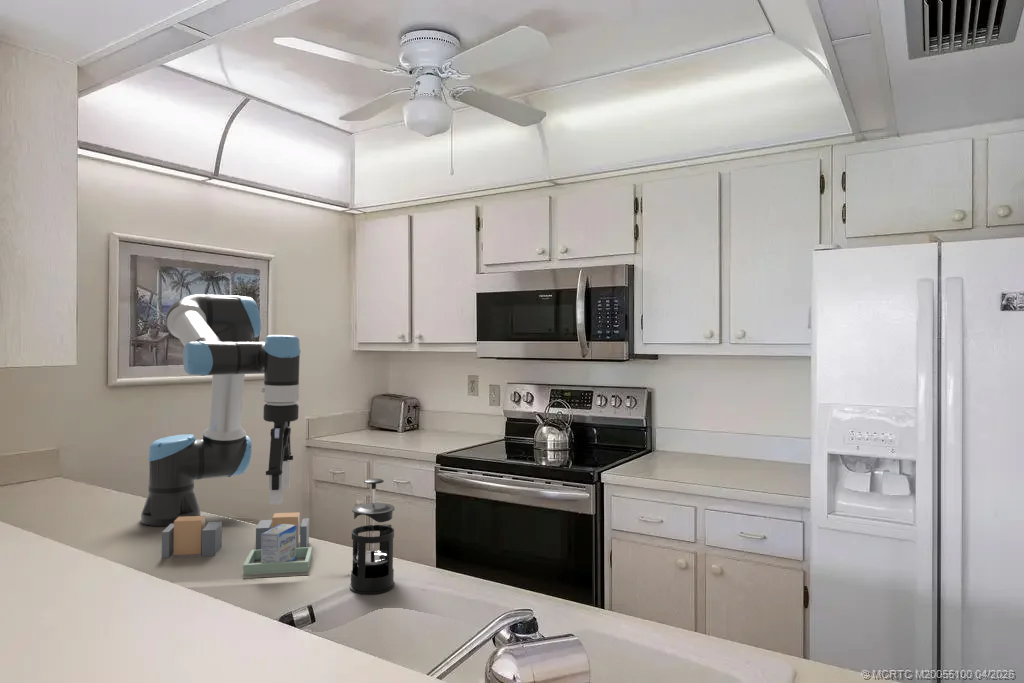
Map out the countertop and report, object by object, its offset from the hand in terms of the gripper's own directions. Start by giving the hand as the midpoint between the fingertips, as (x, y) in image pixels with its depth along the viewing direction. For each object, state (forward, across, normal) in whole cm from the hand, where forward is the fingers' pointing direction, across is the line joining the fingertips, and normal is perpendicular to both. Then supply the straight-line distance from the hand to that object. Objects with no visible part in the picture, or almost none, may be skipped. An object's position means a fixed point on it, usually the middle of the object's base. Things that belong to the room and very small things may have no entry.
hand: (279, 496), depth 155 cm
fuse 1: (+16, -12, -22) cm, 29 cm away
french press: (+16, +14, +21) cm, 30 cm away
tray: (+17, +1, 0) cm, 17 cm away
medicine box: (+16, +1, 0) cm, 16 cm away
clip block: (+17, -12, -11) cm, 23 cm away
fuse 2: (+16, -12, 0) cm, 20 cm away
